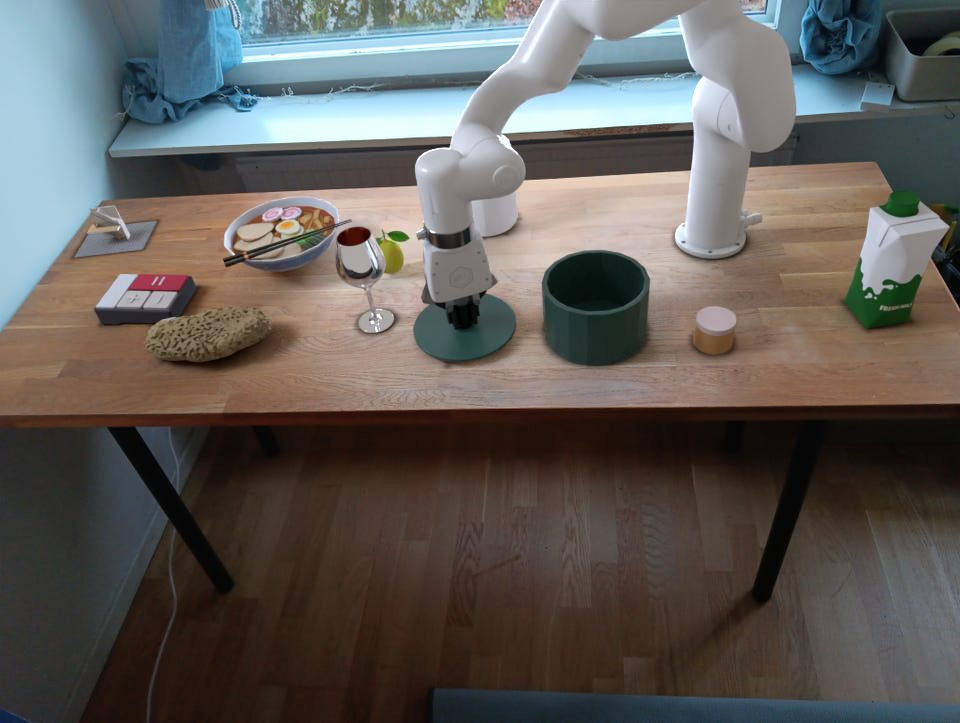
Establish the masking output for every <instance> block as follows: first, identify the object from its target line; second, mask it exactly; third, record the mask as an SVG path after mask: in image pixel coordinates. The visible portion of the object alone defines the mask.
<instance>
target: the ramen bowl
mask: <svg viewBox="0 0 960 723" xmlns="http://www.w3.org/2000/svg"><path fill="white" fill-rule="evenodd" d="M352 222H353V220H352V218H350V219H346V220H343V221H341V220H340V216H339V210H338V208H337V207H336V206H335V205H333V203H330V201H328V200H326V199H322V198H318V197H314V196H311V195H310V196H305V195H304V196H287V197H283V198H278V199H272V200H267V201H266V202H264V203H260V204H259V205H256V206H254V207H252V208H250V209H247V210H246V211H245V212H243V213H242V214H241V215H239V216H238V217H236V218H235V219H234V220H232V221H231V223H230V225H229V226H228V228H227V229H226V230H225V232H224V234H223V247H224V248H225V249H226V250H227V251H228V252H229V253H230V256H226V257H224V258H222V261H223V264H224V267H225V268H229V267H233V266H235V265H237V264H241V263H242V264H244V265H246V266H248V267H251V268H252V269H253V268H254V269H257V270H260V271H263V272H287V271H292V270H297V269H301V268H302V267H304V266H307V265H309V264H311V263H312V262H314V261H316V260H317V259H318V258H319V257H321V255H323V254H324V253H325V252H327V250H328V249H329V247H330V246H331V243H332V241H333V239H334V237H335V235H336V233H337V230H338V228H339V227H341V226H343V225H346V224H349V223H352Z"/></svg>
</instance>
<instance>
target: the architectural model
mask: <svg viewBox="0 0 960 723" xmlns="http://www.w3.org/2000/svg"><path fill="white" fill-rule="evenodd" d="M89 212H90V214H91V215H92V217H93V219H94V220H95V221H92V223H93V224H91V225H90V226H89V228H88V230H87V231H86V234H87V236H86V237H85V239H84V241H83V242H82V244H81V245H80V247H79V249H78V250H77V252H76V254H75V255H74V257H73V258H83V257H91V256H99V255H100V256H101V255H108V254H109V255H110V254H118V253H126V252H132V251H133V252H134V251H135V252H136V251H143V250H144V248H145V247H146V244H147V242H148V241H149V239H150V237H151V235H152V232H153V231H154V229H155V227H156V225H157V222H158V220H153V221H144V222H143V221H142V222H136V223H135V222H134V223H128V224H126V223H125V222H124V220H123V219H122V216H121V215H120V213H119V210H118V209H117V208H116V205H107V206H99V207H91V208H89Z"/></svg>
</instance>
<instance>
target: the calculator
mask: <svg viewBox="0 0 960 723" xmlns="http://www.w3.org/2000/svg"><path fill="white" fill-rule="evenodd" d="M196 290H197V286H196V282H195V281H194V278H193V276H192V275H188V274H165V273H163V274H161V273H160V274H159V273H139V274H135V273H134V274H133V273H132V274H131V273H120V274H119V275H118V276H117V277H116V279H115V280H114V281H113V283H112V284H111V285H110V286H109V288H108V289H107V291H105V293H104V294H103V296H102V297H101V298H100V300H99V301H98V302H97V304H96V305H95V307H94V308H93V311H94V314H95V315H96V317H97V318H98V320H99V323H100V324H101V325H117V326H118V325H121V324H122V323H133V324H156V323H157V322H159V321H160V320H163V319H167V318H172V317H176V318H177V317H181V314H182V313H183V311H184V309H185V308H186V306H187V305H188V303H189V301H190V300H191V298H192V296H193V295H194V293H195V292H196Z"/></svg>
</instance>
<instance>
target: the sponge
mask: <svg viewBox="0 0 960 723" xmlns="http://www.w3.org/2000/svg"><path fill="white" fill-rule="evenodd" d="M271 332H272V321H271V320H270V318H269V317H268V315H267V316H266V314H265V312H263V311H262V310H260V309H259V308H258V307H252V306H251V307H250V306H244V305H243V306H241V305H240V306H230V307H229V306H228V307H227V306H223V307H217V308H215V309H214V308H212V309H207V310H206V309H205V310H203V311H201V312H199V313H197V314H191V315H182V316H179V317H177V318H176V317H172V318H167V319H163V320H160V321H159V322H157V323H154V325H152V326H151V327H150V329H149V330H148V331H147V336H146V338H145V339H143V345H144V346H145V351H146V352H147V353H148V354H149V355H151V357H153V358H157V359H158V360H163V361H165V362H166V361H168V362H169V361H170V362H171V361H172V362H173V361H174V362H179V361H188V362H193V363H203V362H209V361H215V360H219V359H220V358H221V359H223V358H226V357H230V356H232V355H234V354H235V353H237V352H238V351H241V350H243V349H245V348H247V347H251V346H253V345H256V344H258V343H259V342H260V341H261V340H263V339H265V338H266V337H267V336H269V334H270V333H271Z"/></svg>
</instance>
